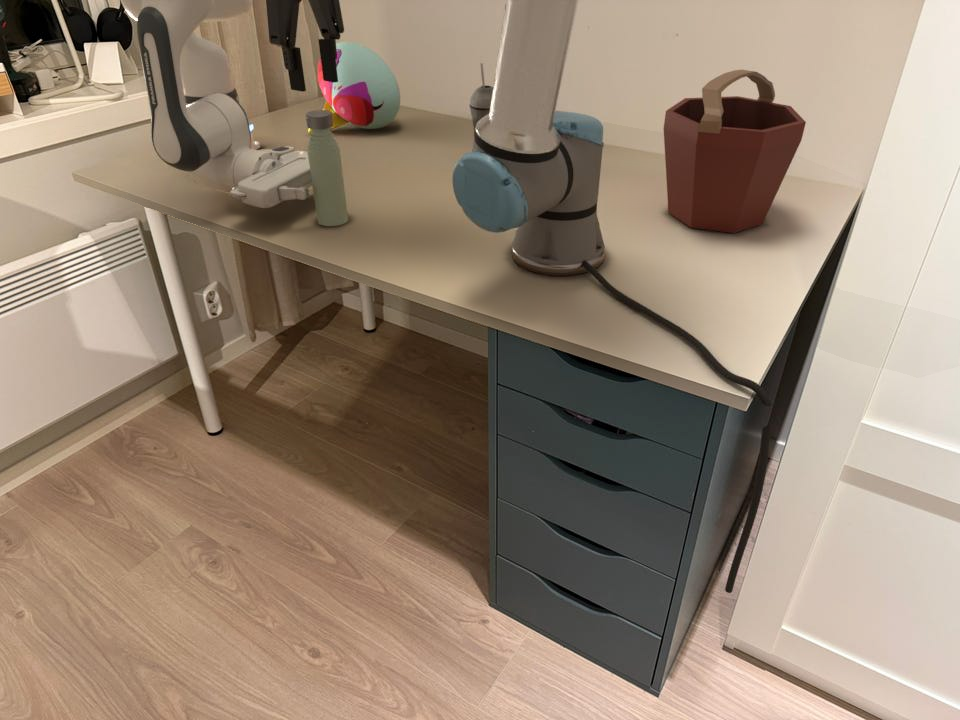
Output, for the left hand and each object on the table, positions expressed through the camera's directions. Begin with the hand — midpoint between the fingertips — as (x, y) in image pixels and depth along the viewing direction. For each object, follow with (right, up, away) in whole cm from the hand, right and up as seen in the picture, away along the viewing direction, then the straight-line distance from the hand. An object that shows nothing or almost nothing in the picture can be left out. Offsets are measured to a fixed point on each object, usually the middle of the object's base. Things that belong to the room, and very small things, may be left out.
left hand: (322, 185), depth 128 cm
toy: (-4, +28, +52) cm, 59 cm away
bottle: (+1, -6, +3) cm, 7 cm away
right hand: (+1, +14, -10) cm, 17 cm away
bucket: (+72, -4, +4) cm, 72 cm away
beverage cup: (+30, +14, +32) cm, 46 cm away
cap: (+1, +10, -7) cm, 13 cm away
